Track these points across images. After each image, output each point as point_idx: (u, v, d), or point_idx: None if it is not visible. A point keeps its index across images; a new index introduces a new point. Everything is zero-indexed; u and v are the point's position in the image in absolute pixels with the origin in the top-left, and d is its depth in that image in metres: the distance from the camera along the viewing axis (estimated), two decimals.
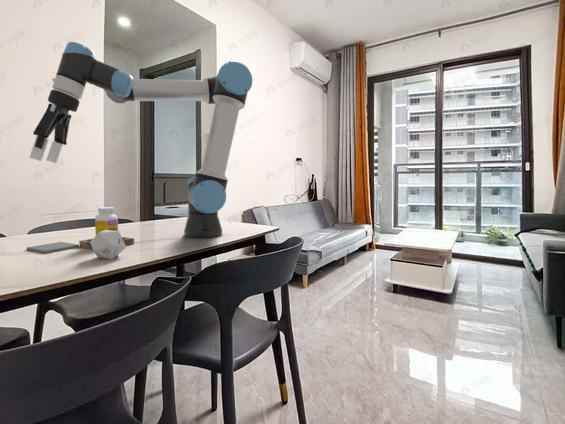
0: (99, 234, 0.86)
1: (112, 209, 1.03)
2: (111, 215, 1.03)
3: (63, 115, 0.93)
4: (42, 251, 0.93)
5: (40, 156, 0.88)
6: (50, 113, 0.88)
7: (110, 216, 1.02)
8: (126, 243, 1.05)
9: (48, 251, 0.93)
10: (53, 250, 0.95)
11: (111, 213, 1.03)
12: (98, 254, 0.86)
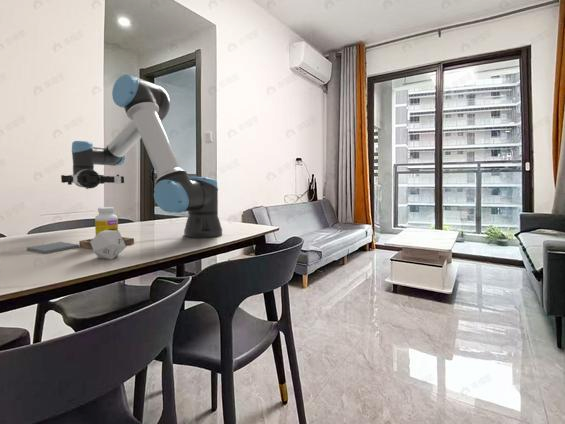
0: (99, 234, 0.86)
1: (112, 209, 1.03)
2: (111, 215, 1.03)
3: None
4: (42, 251, 0.93)
5: (73, 176, 1.06)
6: None
7: (110, 216, 1.02)
8: (126, 243, 1.05)
9: (48, 251, 0.93)
10: (53, 250, 0.95)
11: (111, 213, 1.03)
12: (98, 254, 0.86)
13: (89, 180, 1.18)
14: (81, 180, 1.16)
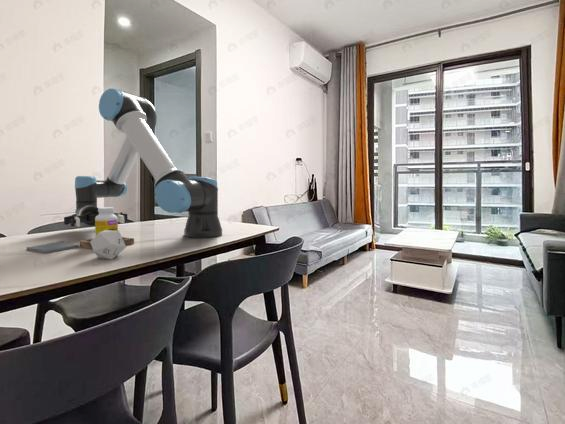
0: (99, 234, 0.86)
1: (112, 209, 1.03)
2: (111, 215, 1.03)
3: None
4: (42, 251, 0.93)
5: (76, 219, 1.04)
6: None
7: (110, 216, 1.02)
8: (126, 243, 1.05)
9: (48, 251, 0.93)
10: (53, 250, 0.95)
11: (111, 213, 1.03)
12: (98, 254, 0.86)
13: (92, 219, 1.17)
14: (84, 220, 1.14)
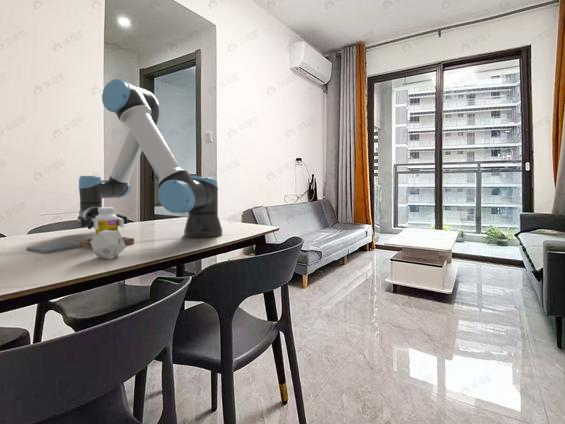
0: (99, 234, 0.86)
1: (112, 209, 1.03)
2: (111, 215, 1.03)
3: None
4: (42, 251, 0.93)
5: (94, 221, 0.98)
6: (80, 220, 1.07)
7: (110, 216, 1.02)
8: (126, 243, 1.05)
9: (48, 251, 0.93)
10: (53, 250, 0.95)
11: (111, 213, 1.03)
12: (98, 254, 0.86)
13: None
14: None
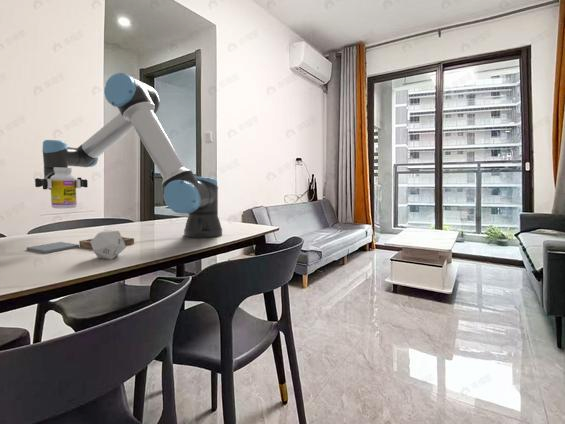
0: (99, 234, 0.86)
1: (69, 169, 0.98)
2: (67, 175, 0.98)
3: None
4: (42, 251, 0.93)
5: (47, 180, 0.94)
6: None
7: (66, 176, 0.97)
8: (126, 243, 1.05)
9: (48, 251, 0.93)
10: (53, 250, 0.95)
11: (68, 173, 0.98)
12: (98, 254, 0.86)
13: None
14: None
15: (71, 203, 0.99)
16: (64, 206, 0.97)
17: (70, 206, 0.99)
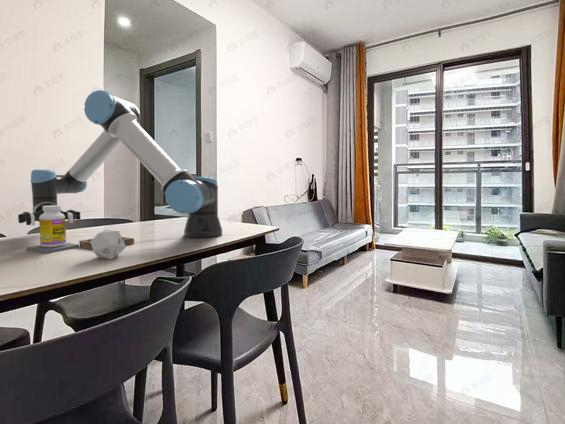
0: (99, 234, 0.86)
1: (58, 207, 0.98)
2: (56, 214, 0.97)
3: None
4: (42, 251, 0.93)
5: (31, 217, 0.92)
6: None
7: (55, 215, 0.97)
8: (126, 243, 1.05)
9: (48, 251, 0.93)
10: (53, 250, 0.95)
11: (57, 212, 0.98)
12: (98, 254, 0.86)
13: None
14: None
15: (60, 241, 0.98)
16: (53, 245, 0.97)
17: (59, 245, 0.98)
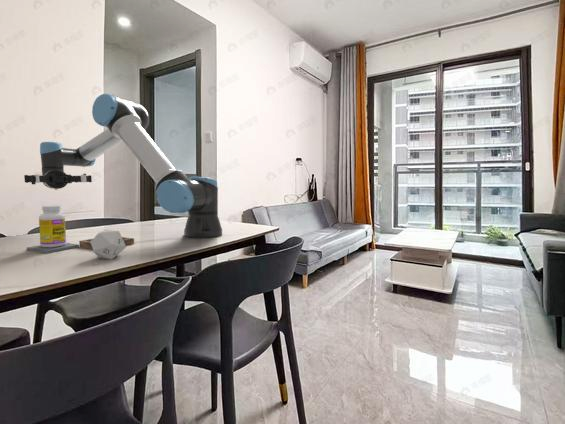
0: (99, 234, 0.86)
1: (58, 207, 0.98)
2: (56, 214, 0.97)
3: None
4: (42, 251, 0.93)
5: (36, 175, 1.05)
6: None
7: (55, 215, 0.97)
8: (126, 243, 1.05)
9: (48, 251, 0.93)
10: (53, 250, 0.95)
11: (56, 212, 0.98)
12: (98, 254, 0.86)
13: (55, 180, 1.17)
14: (46, 180, 1.15)
15: (60, 241, 0.98)
16: (53, 245, 0.97)
17: (59, 245, 0.98)
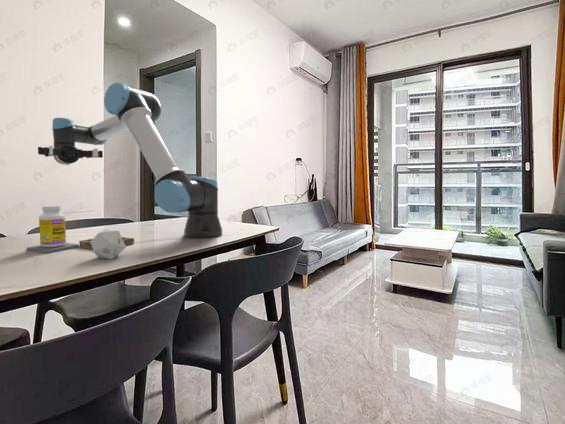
0: (99, 234, 0.86)
1: (58, 207, 0.98)
2: (56, 214, 0.97)
3: None
4: (42, 251, 0.93)
5: (49, 147, 1.07)
6: None
7: (55, 215, 0.97)
8: (126, 243, 1.05)
9: (48, 251, 0.93)
10: (53, 250, 0.95)
11: (57, 212, 0.98)
12: (98, 254, 0.86)
13: (67, 154, 1.19)
14: (59, 153, 1.17)
15: (60, 241, 0.98)
16: (53, 245, 0.97)
17: (59, 245, 0.98)
